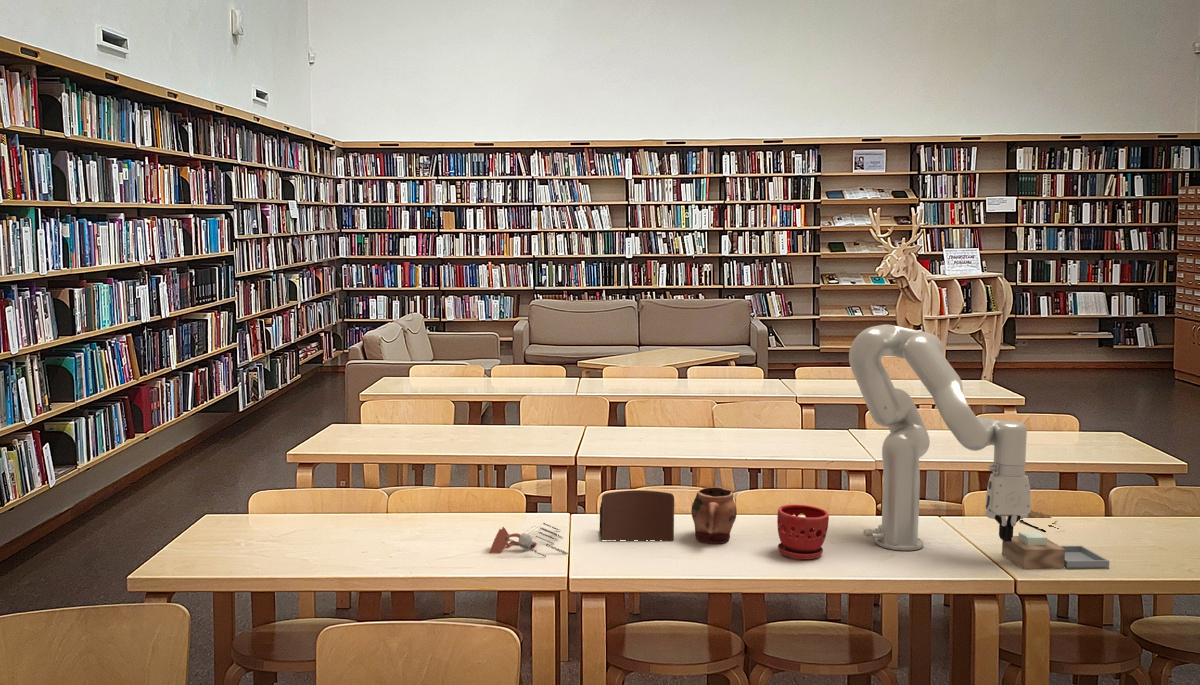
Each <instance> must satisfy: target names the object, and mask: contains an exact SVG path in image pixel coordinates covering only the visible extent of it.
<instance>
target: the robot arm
mask: <svg viewBox="0 0 1200 685" xmlns="http://www.w3.org/2000/svg"><path fill="white" fill-rule="evenodd" d="M943 351H944V347H943V343H942V341H941V340H940V338H939V337H938V336H937V335H935V334H933V333H931V332H926V331H922V330H917V329H912V328H907V327H903V326H898V325H892V324H880V325H875V326H870V327H867V328H866V329H863V330H862V331H861V332H860V333H859V334H858V335H856V337H855V338H854V339H853V341H852V343H851V345H850V347H849V352H848V361H849V366H850V369H851V372H852V374H853V376H854V379H855V381H856V383H857V385H858V387H859V390H860V393H861V395H862V398H863V400H864V401H865V404H866V407H867V409H868V412H869V414H870V417H871V419H872V420H873V422H875V423H876V424H877V425H878V426H881V427H887V428H888V429H889V432H890V433H889V434H888V435H887V436H886V437H885V438H884V441H883V443H882V446H881V447H882V448H881V458H882V470H883V471H882V472H883V473H882V474H883V475H882V477H883V478H882V504H881V505H882V506H881V507H882V509H881V524H878V525H877V528H875V529H863V536H864V538H865V537H871V539H874V542H875V544H876V545H877V546H880V547H882V548H885V549H889V550H893V551H903V552H907V551H918V550H921V549H922V548H924V540H923V539H921V538H919V535H918V534H919V517H920V516H919V514H920V492H921V491H920V490H921V488H920V487H921V475H920V474H921V471H920V458H922V457H923V456H924V455H925V454H926V453H927V452H928V450H929V448H930V442H931V441H930V436H929V433H928V430H927V428H926V426H925V423H924V422H923V420H922V417H921V415H920V412H919V410H918V408H917V406H916V404H915V401H914V400H913V398H912V396H910V394H909V393H908V392H906V391H905V390H903V389H902V388H901V389H900V388H897V387H895V386H894V384H893V382H892V379H891V377H890V374H889V372H888V371H887V368H885V366H884V365H883V363H882V358H883V357H886V356H891V357H896V358H900V359H904V360H905V361H906V362H907V363H908V365H909V366H910V368H911V369H912V371H913V372H914V373H915V375H916V376H917V377H918V379H919V380H920V382H921V383H922V385H923V386H924V387H925V388H926V390H927V391H928V392H929V394H930V395H931V398H932V399H933V401H934V404H935V407H936V408H937V410H938V411H939V414H940V416H941V419H943V420H942V421H943V422H944V423H945V425H946V427H947V428H948V429H949V431H950V432H951V433H952V435H953V437H954V438H956V440H957V441H958V442H959V444H960V445H961V446H963V448H965V449H967V450H969V451H973V452H974V451H976V452H977V451H981V450H983V449H984V448H986V447H988V446H994V447H993V449H994V450H993V462H992V464H991V465H988V468H987V469H988V471H989V472H992V473H990V476H989V479H988V483H987V490H986V495H985V509H986V513H985V516H986V518H988V519H991V520H992V519H993V520H995V521H996V522H997V524H999V525H998V526H999V527H998V537H999V539H1001V541H1005V542H1007V541H1009V542H1011V541H1012V537H1013V536H1014V527H1015V526H1016V525H1017V523H1018V522H1020V519H1023V518H1027V517H1028V514H1029V513H1030V510H1031V507H1032V506H1031V505H1032V504H1031V486H1030V481H1029V480H1030V479H1029V476H1028V475H1026V457H1027V455H1026V454H1027V453H1026V452H1027V435H1028V433H1027V432H1028V428H1027V426H1026V424H1024V422H1020V421H1016V420H999V419H996V418H995V419H994V418H991V417H986V416H985V417H984V416H976V414H975V413H974V411H973V410H972V409H971V407H970V405H969V404H968V401H967V399H966V398H965V395H964V390H963V383H962V379H961V377H960V376H959V374H958V373H957V372H956V370H955V369H954V368H953V367H952V365H951V364H950V362H949V361H948V360H947V359H946V357H945V356H944V354H943Z"/></svg>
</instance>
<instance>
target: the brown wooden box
mask: <svg viewBox="0 0 1200 685" xmlns="http://www.w3.org/2000/svg"><path fill="white" fill-rule="evenodd" d="M1018 536H1019V535H1013V537H1012V541H1011V542H1009V541H1007V542H1005V541H1003V540H1001V541H1002V543H1001V555H1002V554H1003V555H1004V556H1003V555H1002V556H1003V557H1005V556H1006V557H1007V558H1006V557H1005V558H1006V559H1008V558H1009V559H1010V560H1009V559H1008V560H1009V561H1011V562H1012V561H1013V562H1012V563H1014V564H1015V563H1016V564H1015V565H1017V566H1018V565H1019V567H1020V568H1021V567H1022V568H1021V569H1023V570H1047V569H1046V568H1064V560H1065V549H1064V548H1062V547H1060V546H1061V545H1059V544H1057V543H1055V542H1053V541H1051V540H1050V539H1048V538H1047V545H1026V544H1024V543H1023V542H1021V541H1019V540H1018ZM1064 569H1065V568H1064Z"/></svg>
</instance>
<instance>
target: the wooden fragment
mask: <svg viewBox="0 0 1200 685" xmlns="http://www.w3.org/2000/svg"><path fill="white" fill-rule="evenodd" d="M1027 518H1053V517H1051V516H1050V515H1049V514H1045V513H1044V512H1038V511H1033V510H1031V509H1030V513H1029V514H1028V517H1027ZM1052 524H1056V522H1054V523H1052ZM1048 526H1049V527H1054V526H1052V525H1048ZM1054 528H1056V527H1054ZM1057 529H1059V528H1057Z"/></svg>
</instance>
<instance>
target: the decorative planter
mask: <svg viewBox="0 0 1200 685" xmlns="http://www.w3.org/2000/svg"><path fill="white" fill-rule="evenodd" d="M737 513H738V512H737V506H736V503H735V501H734V493H733V491H732V490H731V489H728V488H727V489H726V488H723V487H721V486H711V487H703V488H701V489H700V490H698V491H697V493H696V496H695V497H694V500H693V502H692V504H691V519H692V520H693V524H694V533H695V534H694V535H695V539H696V541H697V542H699V543H704V544H723V543H727V542H728V541H729V540H730V539H731V532H732V529H733V526H734V524H735V523H736V522H735V521H736V519H737Z"/></svg>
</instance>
